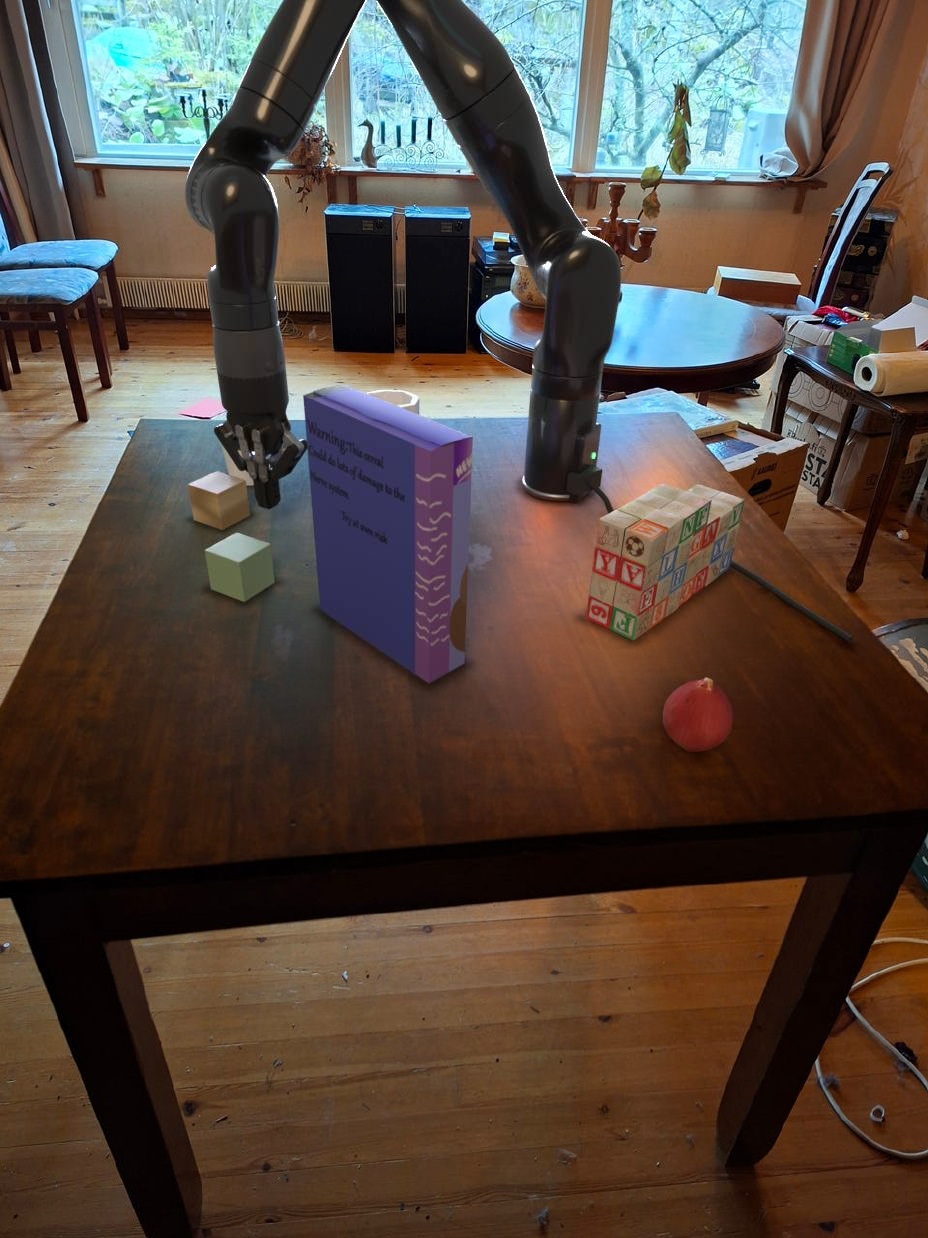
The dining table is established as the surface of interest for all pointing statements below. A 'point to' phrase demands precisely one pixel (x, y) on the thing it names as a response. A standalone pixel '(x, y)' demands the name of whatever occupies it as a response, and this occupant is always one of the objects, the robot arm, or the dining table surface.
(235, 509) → the birch block
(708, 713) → the onion
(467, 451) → the cereal box
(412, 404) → the mug
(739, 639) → the dining table surface
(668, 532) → the stack of blocks
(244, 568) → the sage block
